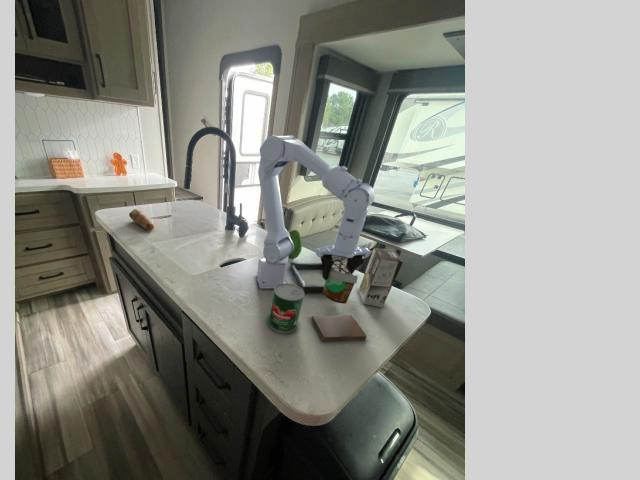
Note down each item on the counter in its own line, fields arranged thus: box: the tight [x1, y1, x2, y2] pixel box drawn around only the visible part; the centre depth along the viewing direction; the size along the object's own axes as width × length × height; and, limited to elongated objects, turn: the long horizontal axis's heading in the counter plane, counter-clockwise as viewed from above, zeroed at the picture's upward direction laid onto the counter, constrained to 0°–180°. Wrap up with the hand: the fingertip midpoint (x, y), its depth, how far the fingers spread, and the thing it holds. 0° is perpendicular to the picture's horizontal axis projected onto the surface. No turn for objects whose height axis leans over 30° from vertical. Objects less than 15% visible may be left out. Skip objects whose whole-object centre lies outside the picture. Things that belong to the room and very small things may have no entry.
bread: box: [128, 208, 155, 232], centre depth 129 cm, size 6×19×6 cm, turn 36°
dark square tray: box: [289, 262, 325, 294], centre depth 96 cm, size 15×17×2 cm
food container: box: [322, 256, 359, 305], centre depth 79 cm, size 12×6×10 cm, turn 5°
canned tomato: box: [268, 282, 305, 334], centre depth 72 cm, size 8×8×11 cm
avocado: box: [288, 228, 303, 260], centre depth 107 cm, size 8×8×12 cm
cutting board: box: [311, 314, 367, 342], centre depth 74 cm, size 12×9×2 cm
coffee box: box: [358, 247, 404, 308], centre depth 85 cm, size 9×6×16 cm
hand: (335, 278), depth 79 cm, fingers closed on food container, 6 cm apart
